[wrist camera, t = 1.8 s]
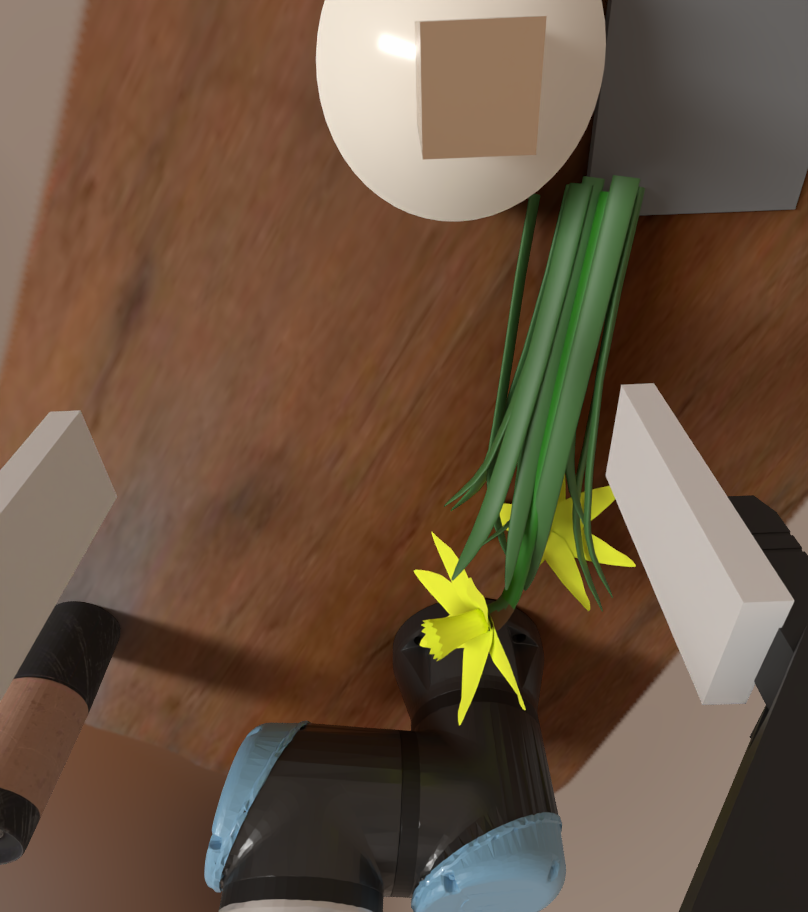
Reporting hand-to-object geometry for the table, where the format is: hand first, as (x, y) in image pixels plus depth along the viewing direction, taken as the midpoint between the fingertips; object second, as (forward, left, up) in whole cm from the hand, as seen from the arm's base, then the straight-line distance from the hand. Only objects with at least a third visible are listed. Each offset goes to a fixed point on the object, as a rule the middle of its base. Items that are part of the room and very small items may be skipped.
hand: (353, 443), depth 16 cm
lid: (+7, -4, -21) cm, 23 cm away
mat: (+6, -19, -28) cm, 35 cm away
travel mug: (-39, +32, -29) cm, 58 cm away
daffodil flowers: (-14, -9, -28) cm, 33 cm away
